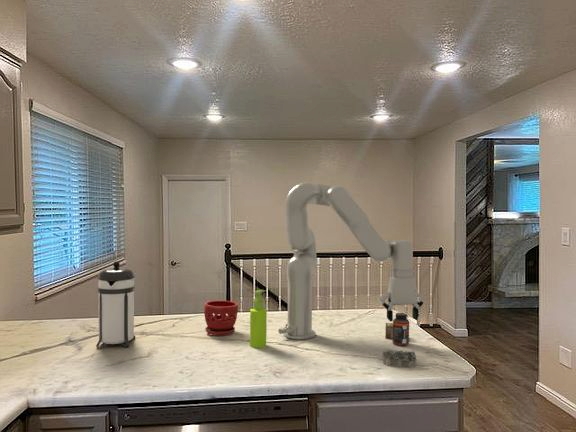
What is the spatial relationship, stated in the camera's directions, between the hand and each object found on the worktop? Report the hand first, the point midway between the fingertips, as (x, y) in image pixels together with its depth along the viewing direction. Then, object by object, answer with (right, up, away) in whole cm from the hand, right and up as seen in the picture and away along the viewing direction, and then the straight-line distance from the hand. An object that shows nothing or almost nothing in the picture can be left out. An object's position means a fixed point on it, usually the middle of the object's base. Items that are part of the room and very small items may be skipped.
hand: (402, 319), depth 170 cm
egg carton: (-6, -10, -20) cm, 23 cm away
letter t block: (-2, -9, +9) cm, 13 cm away
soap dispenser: (-53, -9, -3) cm, 54 cm away
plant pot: (-69, -8, +12) cm, 71 cm away
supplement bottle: (-1, -9, 0) cm, 9 cm away
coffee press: (-105, -8, -2) cm, 106 cm away
